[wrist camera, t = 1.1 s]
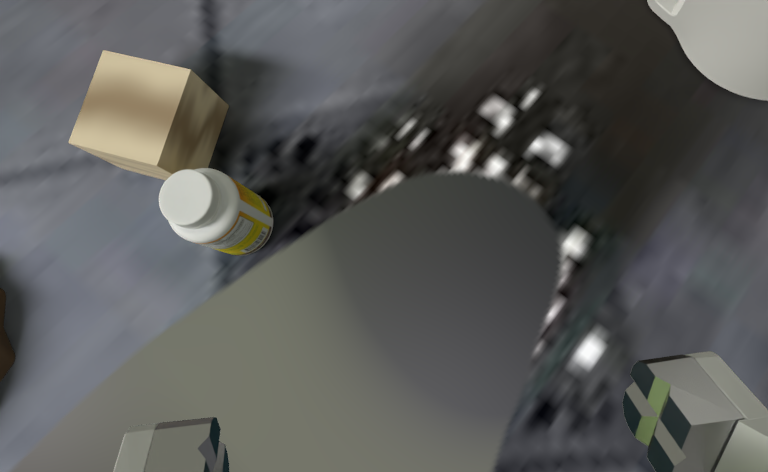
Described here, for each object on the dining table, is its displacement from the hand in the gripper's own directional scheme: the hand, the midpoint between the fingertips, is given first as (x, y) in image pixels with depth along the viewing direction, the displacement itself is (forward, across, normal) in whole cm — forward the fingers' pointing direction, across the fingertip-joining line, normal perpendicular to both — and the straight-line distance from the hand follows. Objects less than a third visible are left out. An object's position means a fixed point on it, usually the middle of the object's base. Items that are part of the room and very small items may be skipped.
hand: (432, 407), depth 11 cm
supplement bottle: (+35, +9, +16) cm, 40 cm away
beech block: (+42, +14, +11) cm, 46 cm away
